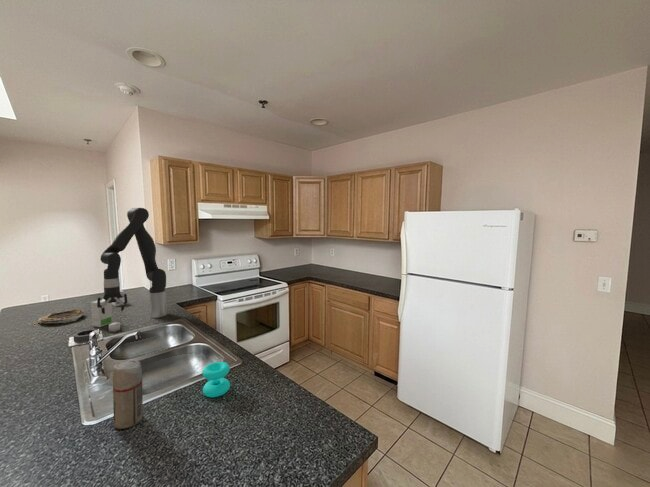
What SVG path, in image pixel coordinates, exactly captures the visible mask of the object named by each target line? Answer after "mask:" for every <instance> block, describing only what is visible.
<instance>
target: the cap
mask: <svg viewBox="0 0 650 487" xmlns="http://www.w3.org/2000/svg"><path fill="white" fill-rule="evenodd" d="M120 330H121V323H120V322H119V321H115V322H112V323H110V324H108V332H109V333H115V332H119V331H120Z"/></svg>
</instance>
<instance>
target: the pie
mask: <svg viewBox="0 0 650 487" xmlns="http://www.w3.org/2000/svg"><path fill="white" fill-rule="evenodd" d="M84 313H85V310H82V309H80V308H79V309H78V308H75V309H74V308H73V309H68V310H58V311H55V312H51V313H48V314H45V315H43V316H42V317H40V318H38V321H36V322H33V323H32V326H33V325H34V324H36V325H39V324H38V323H40V324H41V323H44V324H43V325H63V323H64V324H68V323H73V321H74V322H77V321H78V320H80V319H82V316H83V315H84ZM79 318H80V319H79ZM67 322H68V323H67ZM34 326H35V325H34Z"/></svg>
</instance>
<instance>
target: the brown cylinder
mask: <svg viewBox="0 0 650 487" xmlns="http://www.w3.org/2000/svg"><path fill="white" fill-rule="evenodd" d="M112 393H113V397H112V398H113V399H112V400H113V401H112V402H113V403H112V404H113V428H114V429H116V430H122V429H123V430H125V429H130V428H133V427H134V426H136V425H138V424H139V423H141V421H142V420H143V414H144V412H143V410H144V409H143V408H144V407H143V406H144V405H143V404H144V402H143V369H142V364H141V362H140V361H138V360H135V359H129V360H126V361H123V362H119V363H116V364H114V365H113V369H112Z"/></svg>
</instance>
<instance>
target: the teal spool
mask: <svg viewBox="0 0 650 487" xmlns="http://www.w3.org/2000/svg"><path fill="white" fill-rule="evenodd" d="M230 369H231V367H230V364H228V362H226V361H215V362H214V361H213V362H211V363H209V364H207V365H205V367H204V368H203V369H202V372H201V374H202V376H203V378H204V379H206V380H208V381H207V382H206V383H205V384H204V386H203V387H202V392H203V395H204V396H206V397H207V398H218V397H221V396H223V395H225V394H226V393H227V392H229V389H230V388H231V383H230V380H229V379H227V378H226V376H227V375H228V374H229V372H230Z"/></svg>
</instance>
